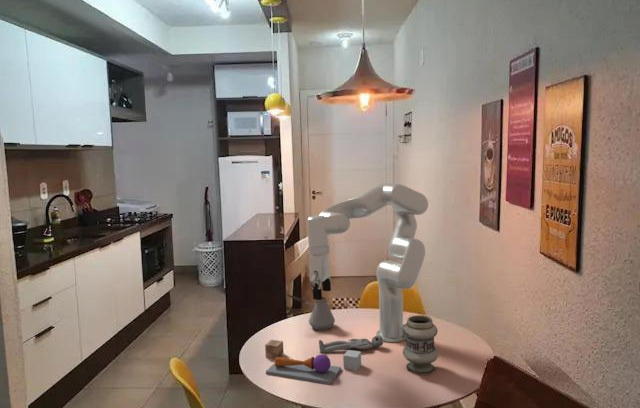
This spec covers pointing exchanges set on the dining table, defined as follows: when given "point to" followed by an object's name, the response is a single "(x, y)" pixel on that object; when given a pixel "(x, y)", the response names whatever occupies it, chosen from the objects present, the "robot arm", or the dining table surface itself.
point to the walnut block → (274, 349)
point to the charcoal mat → (305, 373)
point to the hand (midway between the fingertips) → (322, 295)
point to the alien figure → (351, 344)
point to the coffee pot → (319, 314)
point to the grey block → (352, 360)
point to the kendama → (307, 363)
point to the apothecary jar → (420, 344)
